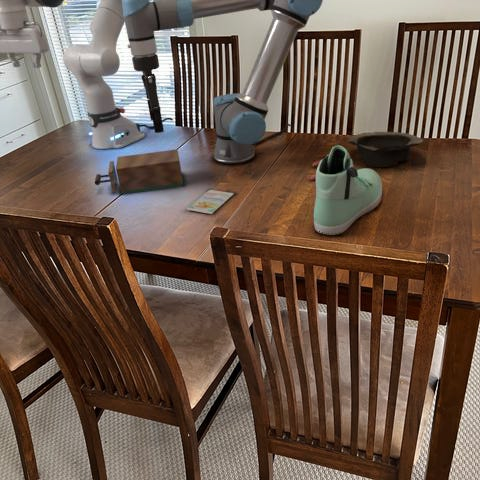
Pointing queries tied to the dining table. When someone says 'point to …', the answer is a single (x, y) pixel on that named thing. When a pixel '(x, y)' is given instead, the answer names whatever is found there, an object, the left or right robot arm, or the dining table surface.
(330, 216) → the sneaker
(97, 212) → the dining table surface
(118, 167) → the cabinet
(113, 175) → the drawer
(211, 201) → the baking ingredient package
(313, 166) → the candy cane
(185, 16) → the right robot arm
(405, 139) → the stone bowl
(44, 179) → the dining table surface
